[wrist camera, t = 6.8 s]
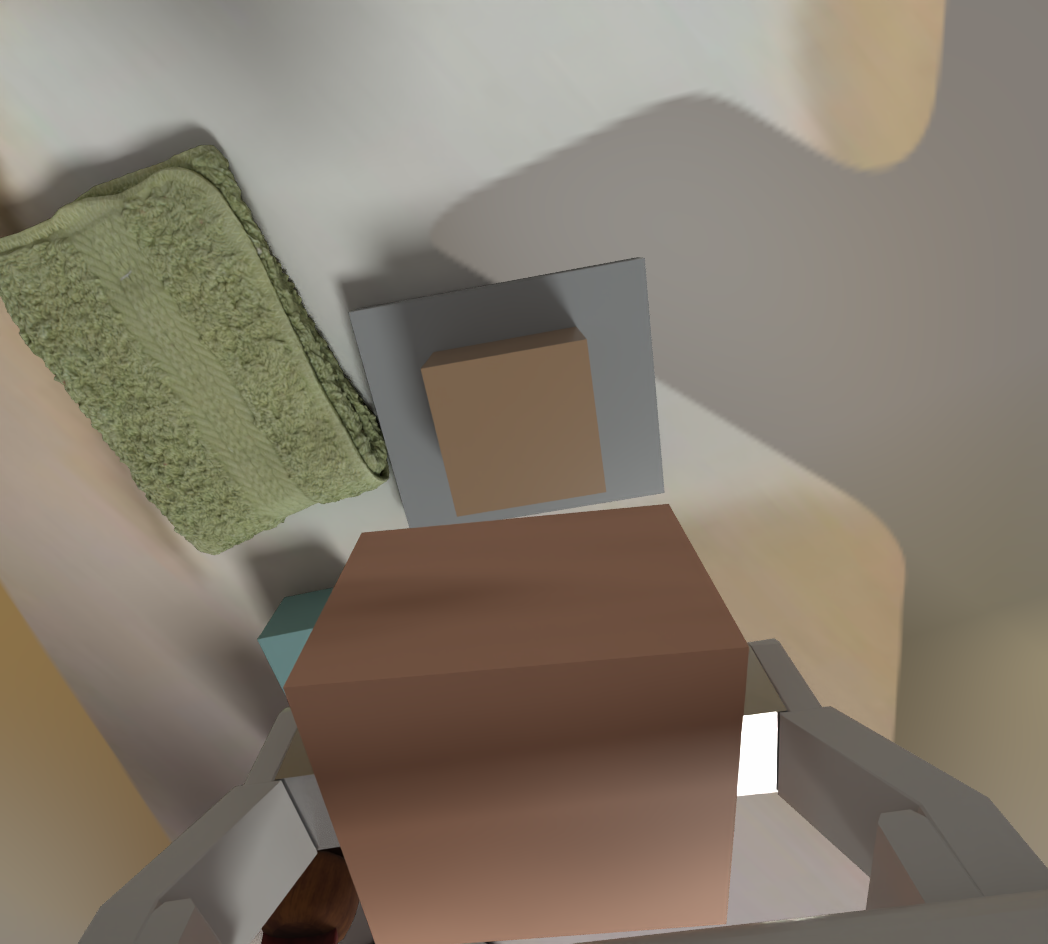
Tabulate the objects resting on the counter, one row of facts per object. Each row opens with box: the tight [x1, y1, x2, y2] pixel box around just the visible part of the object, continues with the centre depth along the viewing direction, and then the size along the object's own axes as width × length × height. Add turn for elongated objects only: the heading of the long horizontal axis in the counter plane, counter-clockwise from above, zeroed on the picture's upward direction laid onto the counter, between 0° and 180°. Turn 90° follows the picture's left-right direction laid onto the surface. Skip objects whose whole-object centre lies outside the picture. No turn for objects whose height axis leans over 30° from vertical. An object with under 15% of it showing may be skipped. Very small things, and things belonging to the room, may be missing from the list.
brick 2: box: [283, 504, 749, 944], centre depth 10 cm, size 6×6×4 cm
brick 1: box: [257, 588, 333, 698], centre depth 33 cm, size 5×5×4 cm
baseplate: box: [348, 257, 664, 528], centre depth 27 cm, size 12×14×6 cm
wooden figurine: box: [261, 847, 359, 944], centre depth 32 cm, size 7×6×15 cm
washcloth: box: [0, 145, 389, 555], centre depth 27 cm, size 13×18×3 cm
